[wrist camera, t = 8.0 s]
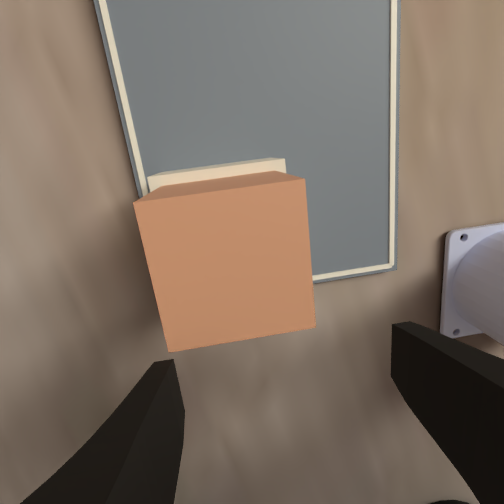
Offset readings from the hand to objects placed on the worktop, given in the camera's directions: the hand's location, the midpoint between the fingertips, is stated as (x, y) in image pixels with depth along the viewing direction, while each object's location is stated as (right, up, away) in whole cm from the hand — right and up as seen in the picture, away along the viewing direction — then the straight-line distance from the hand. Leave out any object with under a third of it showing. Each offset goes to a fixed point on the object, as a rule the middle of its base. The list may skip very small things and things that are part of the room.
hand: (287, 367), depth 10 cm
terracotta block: (-2, +5, +4) cm, 7 cm away
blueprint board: (0, +11, +7) cm, 13 cm away
